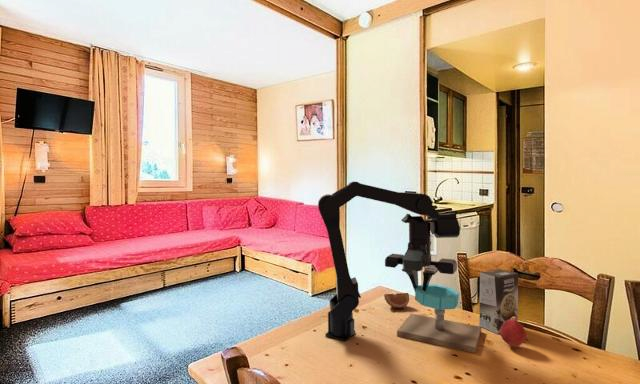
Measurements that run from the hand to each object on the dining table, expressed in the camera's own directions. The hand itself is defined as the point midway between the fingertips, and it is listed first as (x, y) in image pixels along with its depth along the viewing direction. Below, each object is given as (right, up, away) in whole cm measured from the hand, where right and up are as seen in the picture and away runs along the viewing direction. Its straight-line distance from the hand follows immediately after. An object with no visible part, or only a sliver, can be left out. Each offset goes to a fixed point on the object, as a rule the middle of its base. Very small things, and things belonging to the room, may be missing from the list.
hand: (420, 293), depth 98 cm
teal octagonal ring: (+4, -2, -2) cm, 5 cm away
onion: (+21, -12, -8) cm, 26 cm away
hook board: (+5, -11, 0) cm, 13 cm away
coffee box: (+24, -11, +4) cm, 27 cm away
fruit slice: (-2, -11, +21) cm, 24 cm away
